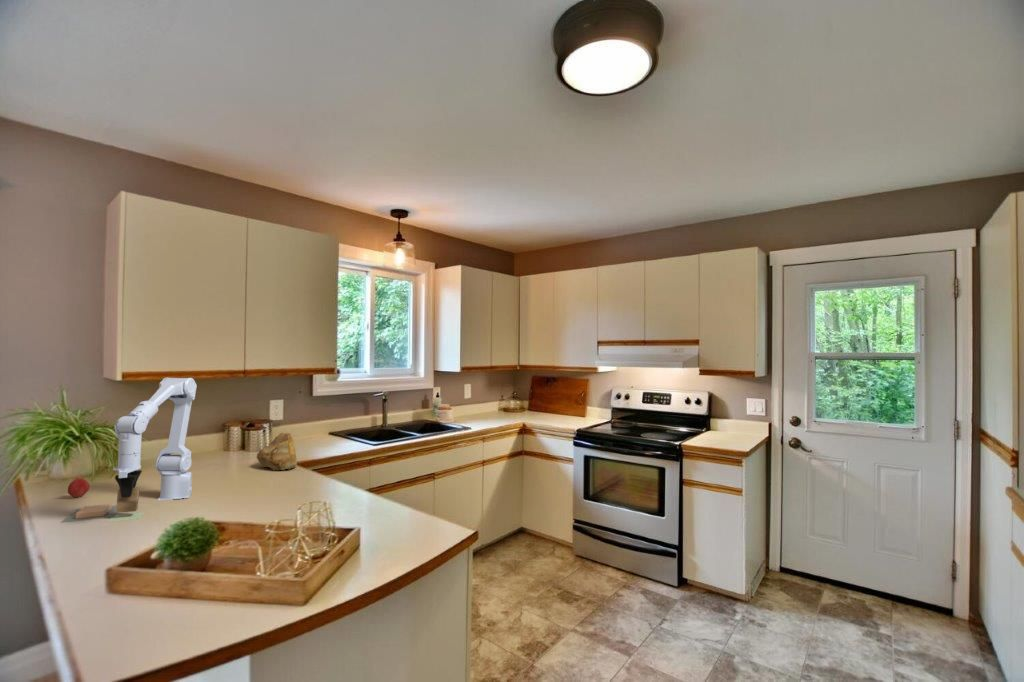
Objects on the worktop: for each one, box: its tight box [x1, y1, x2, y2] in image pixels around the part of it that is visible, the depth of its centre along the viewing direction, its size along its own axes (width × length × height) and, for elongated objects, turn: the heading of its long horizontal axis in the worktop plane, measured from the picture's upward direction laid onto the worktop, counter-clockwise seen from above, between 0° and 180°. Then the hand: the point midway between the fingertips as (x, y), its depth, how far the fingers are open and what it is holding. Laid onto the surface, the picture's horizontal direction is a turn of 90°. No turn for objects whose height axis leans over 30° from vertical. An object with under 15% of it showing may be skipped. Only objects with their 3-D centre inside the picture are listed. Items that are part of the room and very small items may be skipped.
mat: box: [60, 504, 118, 523], centre depth 155 cm, size 13×14×1 cm
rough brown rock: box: [256, 432, 298, 471], centre depth 224 cm, size 23×17×15 cm
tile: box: [76, 503, 113, 519], centre depth 154 cm, size 7×2×8 cm
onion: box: [67, 475, 90, 499], centre depth 171 cm, size 6×6×8 cm
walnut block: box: [116, 486, 140, 514], centre depth 152 cm, size 5×3×7 cm, turn 117°
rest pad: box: [107, 511, 145, 523], centre depth 152 cm, size 8×7×1 cm
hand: (127, 495), depth 152 cm, fingers closed on walnut block, 3 cm apart
